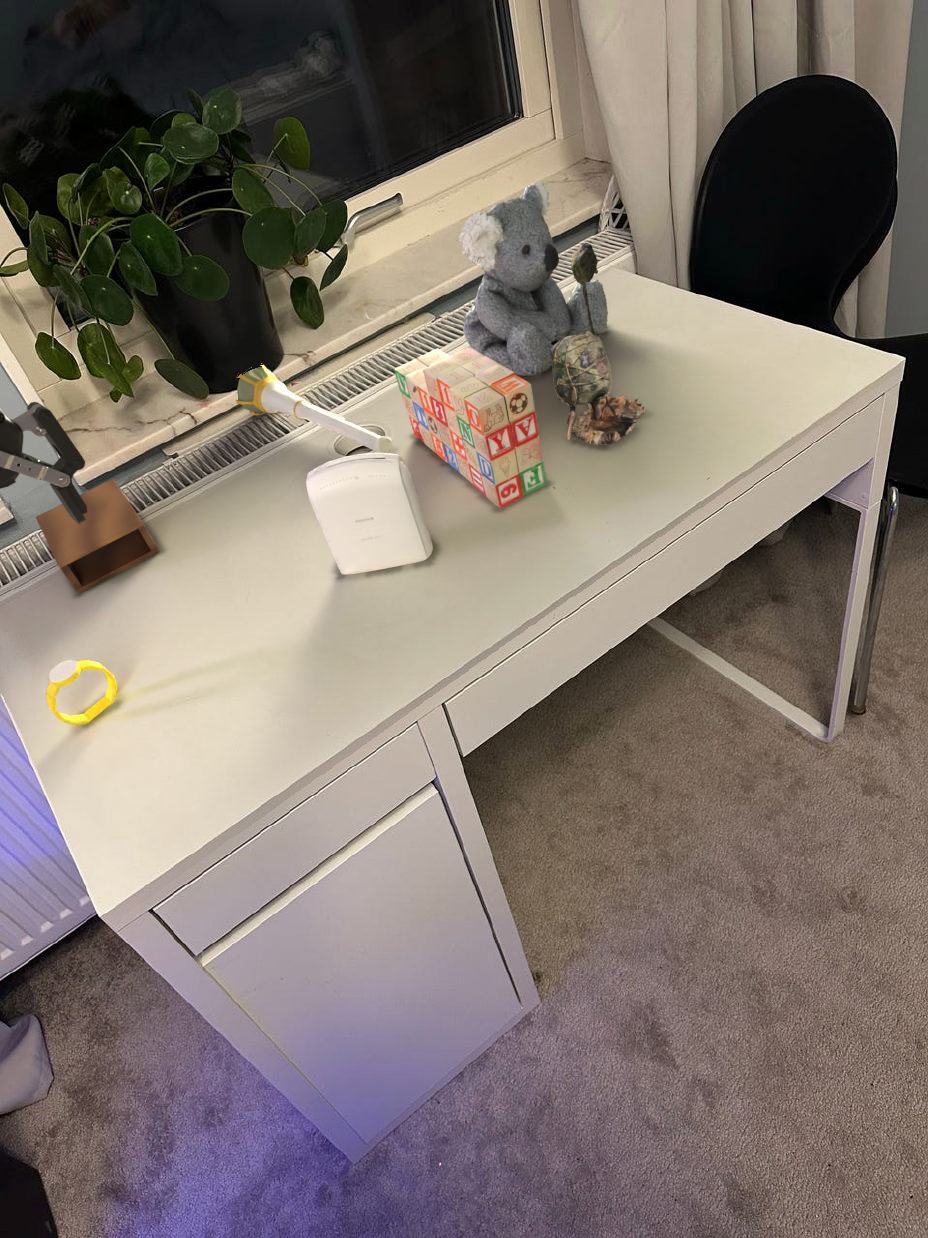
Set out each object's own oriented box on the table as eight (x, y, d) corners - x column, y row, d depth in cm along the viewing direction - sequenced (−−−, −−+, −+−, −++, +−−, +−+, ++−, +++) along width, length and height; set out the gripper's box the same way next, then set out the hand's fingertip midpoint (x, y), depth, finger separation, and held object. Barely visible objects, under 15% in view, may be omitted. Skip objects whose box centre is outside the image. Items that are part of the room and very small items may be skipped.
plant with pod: (541, 438, 98) (511, 267, 85) (617, 397, 101) (599, 226, 88) (584, 464, 93) (559, 285, 79) (663, 419, 96) (652, 240, 82)
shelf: (78, 594, 95) (57, 564, 92) (55, 545, 104) (35, 516, 101) (160, 551, 98) (141, 521, 95) (130, 507, 107) (113, 478, 104)
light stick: (357, 439, 98) (215, 374, 115) (371, 483, 102) (232, 415, 119) (400, 409, 101) (256, 351, 118) (411, 454, 105) (271, 391, 122)
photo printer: (336, 580, 87) (295, 481, 79) (340, 554, 90) (301, 456, 82) (433, 564, 85) (401, 461, 77) (434, 538, 89) (404, 437, 80)
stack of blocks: (412, 436, 105) (385, 343, 97) (455, 415, 106) (432, 322, 98) (500, 509, 90) (477, 407, 81) (549, 484, 91) (531, 381, 83)
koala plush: (536, 386, 107) (510, 229, 94) (440, 361, 118) (404, 217, 105) (618, 325, 115) (605, 171, 101) (520, 307, 126) (496, 166, 112)
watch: (118, 685, 82) (87, 643, 78) (131, 697, 80) (100, 655, 76) (63, 725, 80) (28, 683, 76) (75, 738, 78) (40, 696, 74)
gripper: (-9, 326, 68) (91, 491, 79) (-191, 409, 62) (-56, 575, 73) (22, 343, 63) (124, 516, 74) (-172, 435, 57) (-30, 609, 68)
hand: (35, 545), depth 73 cm, fingers open, 8 cm apart
